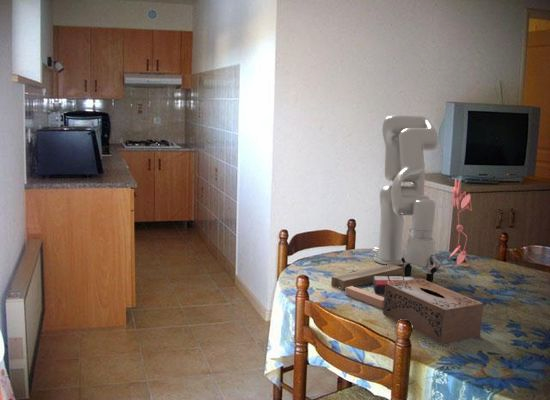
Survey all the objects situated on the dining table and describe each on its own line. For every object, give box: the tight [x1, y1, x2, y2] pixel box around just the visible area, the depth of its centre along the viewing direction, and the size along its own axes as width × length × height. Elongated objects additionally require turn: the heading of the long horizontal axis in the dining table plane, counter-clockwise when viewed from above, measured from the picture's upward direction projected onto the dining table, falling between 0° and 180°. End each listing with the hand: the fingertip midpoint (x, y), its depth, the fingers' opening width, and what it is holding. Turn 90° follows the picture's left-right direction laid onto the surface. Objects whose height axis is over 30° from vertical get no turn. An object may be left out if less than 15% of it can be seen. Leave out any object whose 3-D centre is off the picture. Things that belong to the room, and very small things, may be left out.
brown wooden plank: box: [330, 264, 404, 290], centre depth 222 cm, size 6×32×3 cm, turn 129°
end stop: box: [344, 286, 384, 309], centre depth 199 cm, size 16×3×2 cm, turn 39°
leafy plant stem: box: [440, 178, 473, 268], centre depth 249 cm, size 15×26×35 cm, turn 175°
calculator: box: [372, 275, 416, 295], centre depth 211 cm, size 11×4×15 cm
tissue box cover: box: [382, 277, 484, 345], centre depth 179 cm, size 26×14×10 cm, turn 28°
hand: (418, 280), depth 217 cm, fingers open, 9 cm apart
